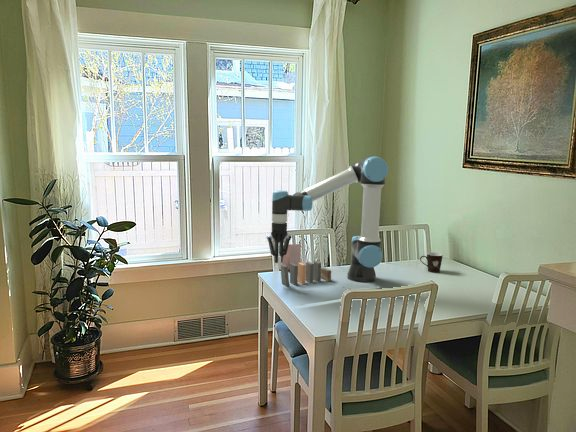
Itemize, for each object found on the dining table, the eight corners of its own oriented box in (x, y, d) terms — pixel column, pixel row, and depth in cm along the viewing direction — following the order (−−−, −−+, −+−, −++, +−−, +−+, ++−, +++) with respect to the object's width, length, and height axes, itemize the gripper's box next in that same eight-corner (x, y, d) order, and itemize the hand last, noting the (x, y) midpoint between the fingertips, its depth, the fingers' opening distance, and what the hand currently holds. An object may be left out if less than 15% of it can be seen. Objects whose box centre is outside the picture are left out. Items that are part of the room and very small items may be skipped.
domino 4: (316, 279, 229) (316, 260, 228) (320, 281, 225) (321, 263, 223) (313, 279, 228) (313, 261, 227) (317, 282, 224) (318, 263, 222)
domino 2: (293, 282, 223) (293, 263, 222) (297, 284, 219) (297, 265, 217) (289, 282, 223) (290, 263, 221) (294, 285, 218) (294, 265, 217)
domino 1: (285, 282, 221) (283, 264, 220) (289, 285, 217) (287, 266, 215) (281, 283, 221) (280, 264, 219) (286, 286, 216) (284, 267, 214)
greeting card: (299, 269, 249) (300, 243, 247) (305, 272, 243) (305, 246, 241) (281, 271, 245) (281, 244, 243) (286, 274, 238) (286, 247, 236)
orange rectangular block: (302, 284, 220) (302, 265, 219) (297, 281, 224) (298, 262, 223) (305, 283, 221) (305, 264, 219) (300, 281, 225) (301, 262, 224)
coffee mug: (443, 270, 250) (444, 253, 248) (439, 274, 243) (440, 256, 241) (422, 267, 256) (423, 251, 255) (418, 270, 249) (419, 253, 247)
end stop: (324, 277, 232) (324, 266, 231) (330, 281, 226) (331, 270, 225) (320, 278, 231) (321, 267, 231) (327, 281, 225) (327, 270, 224)
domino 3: (308, 280, 227) (308, 261, 226) (313, 282, 223) (313, 263, 221) (305, 280, 226) (305, 262, 225) (310, 283, 222) (310, 264, 221)
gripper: (288, 220, 219) (287, 266, 222) (264, 221, 214) (263, 268, 217) (294, 222, 212) (293, 269, 216) (270, 223, 207) (269, 272, 210)
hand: (278, 268), depth 216 cm, fingers closed
